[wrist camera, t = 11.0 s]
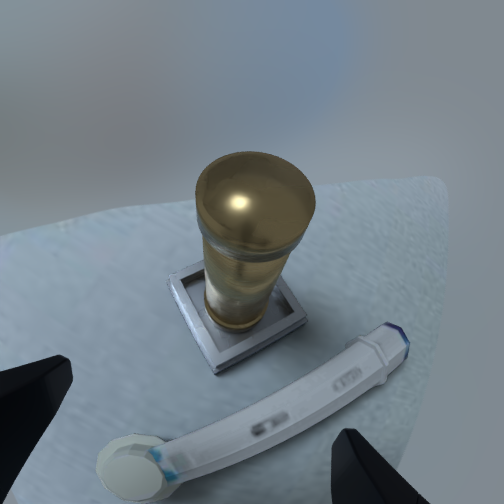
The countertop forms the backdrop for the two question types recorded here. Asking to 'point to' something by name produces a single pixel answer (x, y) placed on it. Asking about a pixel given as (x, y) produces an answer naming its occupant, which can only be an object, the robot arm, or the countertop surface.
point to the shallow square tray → (227, 343)
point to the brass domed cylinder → (248, 232)
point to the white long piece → (250, 422)
